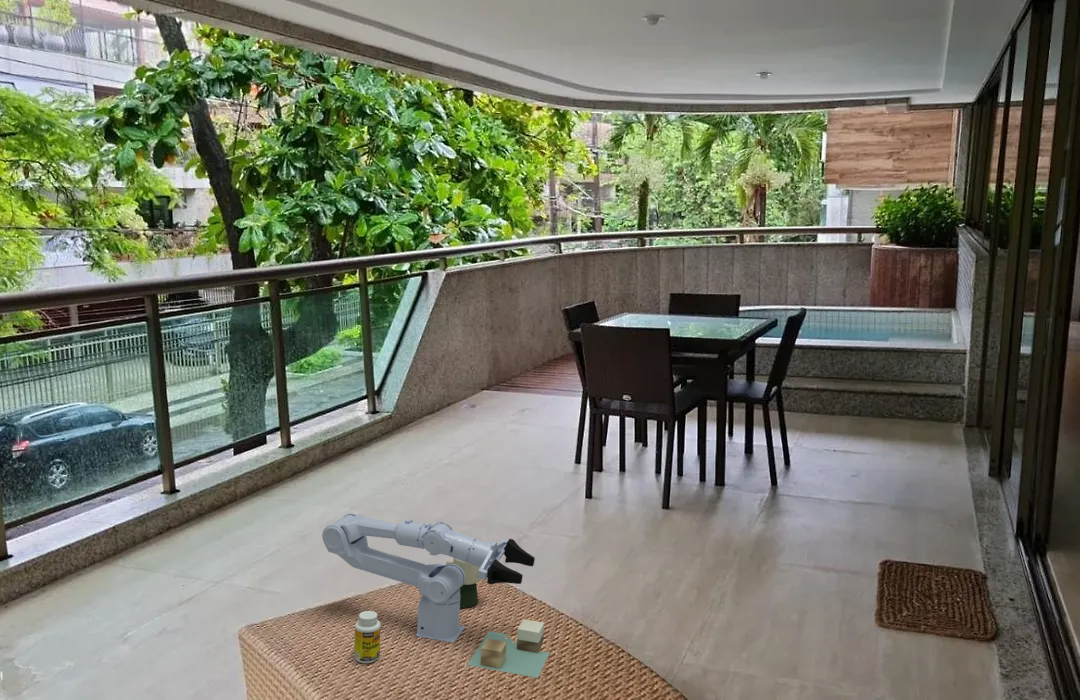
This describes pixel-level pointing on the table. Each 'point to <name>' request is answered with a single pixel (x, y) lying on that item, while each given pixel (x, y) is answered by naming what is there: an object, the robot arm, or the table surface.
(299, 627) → the table surface
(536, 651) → the walnut block
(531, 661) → the teal board
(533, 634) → the cream block
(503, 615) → the table surface
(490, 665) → the oak block
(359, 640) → the supplement bottle
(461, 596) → the character mug
